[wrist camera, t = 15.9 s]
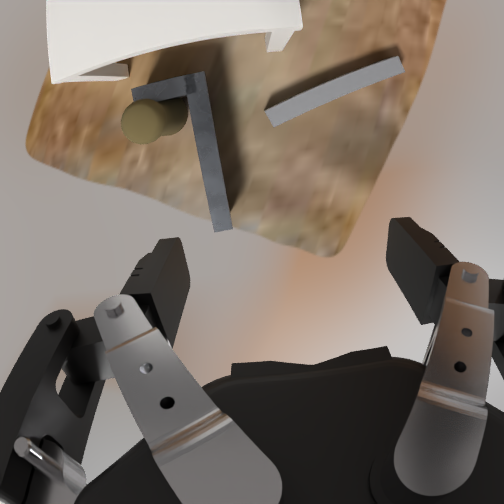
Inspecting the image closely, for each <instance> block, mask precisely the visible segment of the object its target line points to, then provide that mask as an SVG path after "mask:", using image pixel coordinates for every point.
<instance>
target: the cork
mask: <svg viewBox="0 0 504 504" xmlns="http://www.w3.org/2000/svg"><path fill="white" fill-rule="evenodd" d="M187 118H188V110H187V107H186V104H185V103H184V102H183V100H182V99H181V98H176V99H170V100H164V101H158V102H156V101H155V100H151V99H139V100H137V101H135V102H132V103H131V104H130V105H129V106H128V107H127V108H126V109H125V111H124V113H123V115H122V119H121V128H122V131H123V133H124V135H125V136H126V137H127V139H128V140H130V141H132V142H133V143H137V144H149V143H151V142H154V141H155V140H157V139H158V138H159V137H160V136H167V135H173V134H175V133H177V132H178V131H180V130H181V129H182V128H183V127H184V125H185V124H186V121H187Z"/></svg>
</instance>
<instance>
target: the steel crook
mask: <svg viewBox="0 0 504 504" xmlns="http://www.w3.org/2000/svg"><path fill="white" fill-rule="evenodd" d="M131 90H132V96H133V101H134V102H135V101H137V100H139V99H151V100H155V101H156V102H158V101H164V100H170V99H176V98H181V97H186V96H187V98H188V103H189V109H190V114H191V120H192V125H193V130H194V135H195V141H196V146H197V151H198V156H199V161H200V166H201V171H202V176H203V181H204V185H205V190H206V195H207V200H208V205H209V209H210V214H211V219H212V223H213V228H214V232H219V231H224V230H230V229H233V227H232V221H231V214H230V209H229V203H228V198H227V192H226V187H225V182H224V176H223V171H222V165H221V160H220V154H219V149H218V143H217V137H216V132H215V126H214V121H213V115H212V109H211V103H210V98H209V92H208V86H207V80H206V75H205V72H204V71H203V72H198V73H193V74H188V75H184V76H179V77H175V78H170V79H166V80H162V81H158V82H154V83H151V84H147V85H143V86H140V87H136V88H133V89H131Z"/></svg>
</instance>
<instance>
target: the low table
mask: <svg viewBox="0 0 504 504" xmlns="http://www.w3.org/2000/svg"><path fill="white" fill-rule="evenodd" d="M46 19H47V41H48V53H49V65H50V74H51V82H52V84H56V83H62V82H77V81H118V80H121V79H125V78H128V77H129V72H128V65H127V64H121V63H114V62H117V61H121V60H124V59H127V58H130V57H134V56H137V55H141V54H144V53H148V52H152V51H155V50H159V49H163V48H168V47H172V46H176V45H181V44H186V43H191V42H196V41H201V40H207V39H213V38H220V37H227V36H234V35H242V34H252V33H263V32H266V35H265V43H266V51H267V52H275V51H282V50H283V48H284V47H285V45H286V44H287V42H288V41H289V39H290V37H291V36H292V34H293V33H294V31H300V30H301V29H302V28H303V23H302V16H301V9H300V3H299V0H46Z"/></svg>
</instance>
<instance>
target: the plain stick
mask: <svg viewBox="0 0 504 504" xmlns="http://www.w3.org/2000/svg"><path fill="white" fill-rule="evenodd" d="M403 72H405V70H404V68H403V66H402V63H401V61H400V59H399V57H398V56H395V57H390V58H387V59H384V60H381V61H378V62H375V63H373V64H370V65H367V66H364V67H362V68H359V69H356V70H354V71H351V72H349V73H346V74H344V75H341V76H339V77H336V78H334V79H331V80H329V81H326V82H324V83H322V84H319V85H317V86H315V87H312V88H310V89H308V90H306V91H303V92H301V93H299V94H297V95H295V96H292V97H290V98H288V99H286V100H284V101H282V102H280V103H278V104H276V105H274V106H272V107H269V108H267V109H265V110H264V111H265V113H266V114H267V116H268V118H269V120H270V122H271V123H272V125H273V127H276V126H278V125H280V124H282V123H284V122H286V121H288V120H290V119H292V118H294V117H296V116H299V115H301V114H303V113H305V112H307V111H309V110H312V109H314V108H316V107H318V106H320V105H323V104H325V103H327V102H330V101H332V100H334V99H337V98H339V97H341V96H344V95H346V94H348V93H351V92H353V91H356V90H358V89H361V88H363V87H366V86H368V85H371V84H374V83H376V82H379V81H381V80H384V79H387V78H389V77H392V76H395V75H398V74H401V73H403Z"/></svg>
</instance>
